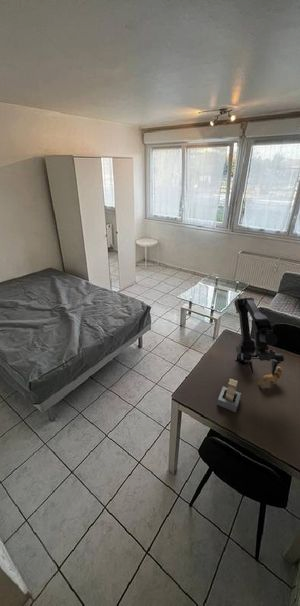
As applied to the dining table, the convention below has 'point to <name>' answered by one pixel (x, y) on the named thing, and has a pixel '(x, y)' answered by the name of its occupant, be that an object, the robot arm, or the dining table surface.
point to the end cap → (226, 403)
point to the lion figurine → (271, 377)
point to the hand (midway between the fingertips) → (262, 374)
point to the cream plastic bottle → (231, 390)
